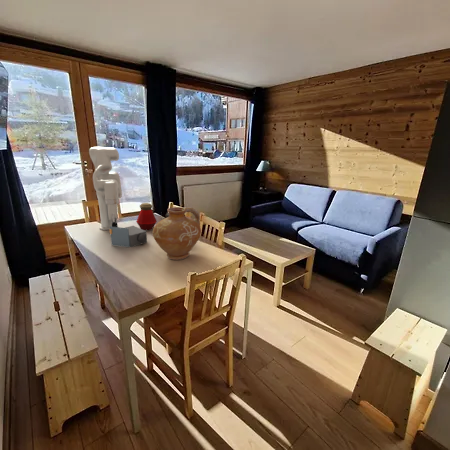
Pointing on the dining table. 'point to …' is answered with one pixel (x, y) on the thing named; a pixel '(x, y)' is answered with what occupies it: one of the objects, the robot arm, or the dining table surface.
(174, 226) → the jug
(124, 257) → the dining table surface
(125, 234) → the side door
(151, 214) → the bottle
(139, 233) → the box
